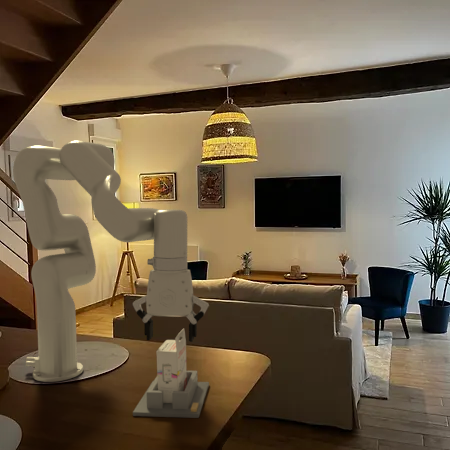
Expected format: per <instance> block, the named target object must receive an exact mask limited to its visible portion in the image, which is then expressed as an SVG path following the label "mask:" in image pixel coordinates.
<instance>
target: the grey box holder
mask: <svg viewBox="0 0 450 450" xmlns="http://www.w3.org/2000/svg"><path fill="white" fill-rule="evenodd" d="M186 374H187V386H186V388H185V391H173V393H172V402H173V403H163V391H158V377H157V376H156V377H155V378H154V380H152V382H151V383H150V385H149V386H148V388H147V389H146V390H145V392H144V394H143V396H142V397H141V399H140V400H139V402H138V403H137V405H136V406H135V408H134V410H133V411H132V416H133V417H152V418H153V417H163V418H188V419H189V418H190V419H191V418H194V419H195V418H196V419H197V418H198V419H199V417H200V416H201V411H202V409H203V404H204V403H205V399H206V396H207V393H208V389H209V387H210V382H209V381H198V380H199V379H198V370H186Z"/></svg>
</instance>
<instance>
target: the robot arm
mask: <svg viewBox="0 0 450 450" xmlns="http://www.w3.org/2000/svg"><path fill="white" fill-rule="evenodd" d="M115 160H116V159H115V156H114V153H113V152H112V151H111V149H110V148H109V147H108V146H106V145H105V144H100V143H98V142H97V143H96V142H90V141H84V140H72V141H69V142H67V143H65V144H64V145H62V147H61V148H59V147H52V146H44V145H31V146H27V147H24V148H22V149H21V150H19V152H18V153H17V155H16V156H15V158H14V160H13V161H14V162H13V165H12V166H13V167H12V168H13V169H12V174H13V175H12V176H13V179H14V183H15V186H16V189H17V192H18V194H19V196H20V199H21V202H22V206H23V212H24V217H25V219H26V220H25V221H26V226H27V230H28V234H29V239H30V242H31V245H32V246H33V248H35V249H36V250H39V251H43V252H44V251H56V250H64V253H57V254H51V255H50V254H49V255H46V256H43V257H40V258H39V259H37V261H35V263H34V264H33V265H32V268H31V272H30V273H31V274H30V275H31V281H32V286H33V289H34V294H35V302H36V318H37V319H36V322H37V347H38V349H37V352H38V356H36V357H35V356H27V357H26V359H25V367H29V368H30V367H34V370H33V372H32V379H34V380H36V381H38V382H45V383H55V382H56V383H57V382H61V381H67V380H70V379H72V378H76V377H78V376H79V375H81V374H82V373H83V371H84V364H82V363H81V362H78V352H77V351H78V349H77V345H78V344H77V319H76V318H77V317H76V316H77V313H76V304H75V301H74V299H73V296H72V295H71V294H70V292H69V289H71V288H72V289H73V288H77V287H82V286H85V285H87V284H89V283H91V282H92V281H93V280H94V279H95V276H96V272H97V265H96V259H95V255H94V250H93V245H92V243H91V236H90V232H89V229H88V226H87V224H86V222H85V221H84V220H83V218H81V217H80V216H79V215H76V214H70V213H65V214H62V213H61V212H60V211H61V210H60V208H59V203H58V199H57V196H56V195H55V193H54V191H53V190H52V188H51V187H50V185H48V183H47V182H46V180H57V181H76V182H77V183H78V184H79V185H80V186H81V187H82V188H83V190H85V192H87V194H88V195H89V196H90V197H91V199H90V200H91V208H92V213H93V215H94V217H95V219H96V220H97V222H98V223H99V224H100V225H101V227H103V229H105V231H107V233H109V234H110V235H111V236H112V237H113V238H114V239H116V240H117V241H120V242H122V243H133V242H141V241H142V242H143V241H151V240H153V257H152V258H148V259H147V265H148V266H151V267H152V270H150V271H149V274H148V281H147V289H146V290H147V291H146V295H145V296H141V298H138V299H135V301H133V302H132V306H133V308H134V310H135V312H136V315H137V316H138V317H139V318H140V319H141V320H142V322H143V323H144V330H143V331H144V336H146V341H150V340H152V338H153V336H154V320H153V319H152V317H154V316H155V317H172V318H174V317H175V318H176V317H177V318H179V317H180V318H182V317H186V318H187V319H188V321H189V322H190V323H189V324H188V341H189V342H191V343H192V342H193V340H194V339H195V338H197V334H198V333H197V332H198V331H197V328H198V327H197V326H198V324H197V323H198V322H199V321H200V320H201V319H203V317H204V316H205V314H206V312H207V310H208V308H209V307H210V305H209V302H207V301H205V300H203V299H201V298H199V297H197V295H194V288H193V287H194V286H193V279H192V273H191V269H188V214H187V212H186V211H184V210H183V209H160V208H159V209H158V208H154V207H136V208H134V207H133V208H132V207H129V208H128V207H127V206H125V204H123V202H121V201H120V199H118V197H117V196H116V195H115V194H116V193H117V191H118V190H119V188H120V186H121V183H122V178H121V175H120V174H119V173H118V172H117V171H116V170H115V169H114V167H115V164H116V163H115V162H116V161H115ZM144 303H145V306H146V307H145V308H146V311H145V310H144V308H142V305H143V304H144ZM195 304H196V305H197V306H199V307H200V310H199V312H198V313H195V311H194V305H195Z"/></svg>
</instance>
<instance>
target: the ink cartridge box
mask: <svg viewBox="0 0 450 450" xmlns="http://www.w3.org/2000/svg"><path fill="white" fill-rule="evenodd" d="M155 352H156V370H157V371H156V372H157V374H156V377H158V391H163V403H173V402H172V393H173V391H185V388H186V386H187V374H186V371H187V340H186V331H185V328H182V329H181V330H180V332H178V334H177V335H176V337H175V338H174V339H166V340H165V341H164V342H163V343H162V344H161V345H160V346H159V347H158V349H157V350H156V351H155Z"/></svg>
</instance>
